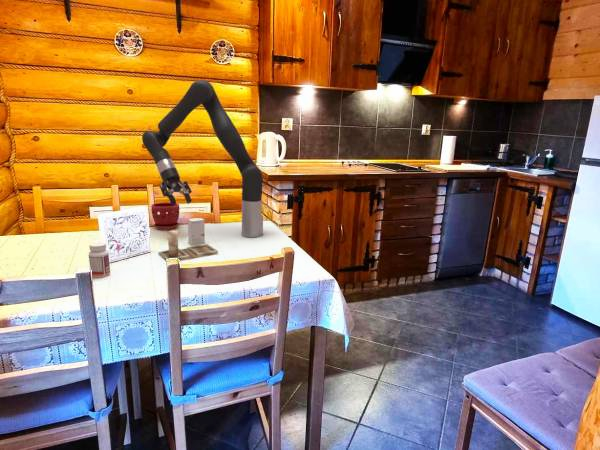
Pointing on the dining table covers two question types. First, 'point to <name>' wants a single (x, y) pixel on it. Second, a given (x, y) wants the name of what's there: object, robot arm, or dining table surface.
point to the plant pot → (165, 215)
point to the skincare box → (196, 231)
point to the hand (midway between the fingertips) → (182, 203)
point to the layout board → (191, 252)
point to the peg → (173, 243)
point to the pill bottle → (99, 259)
